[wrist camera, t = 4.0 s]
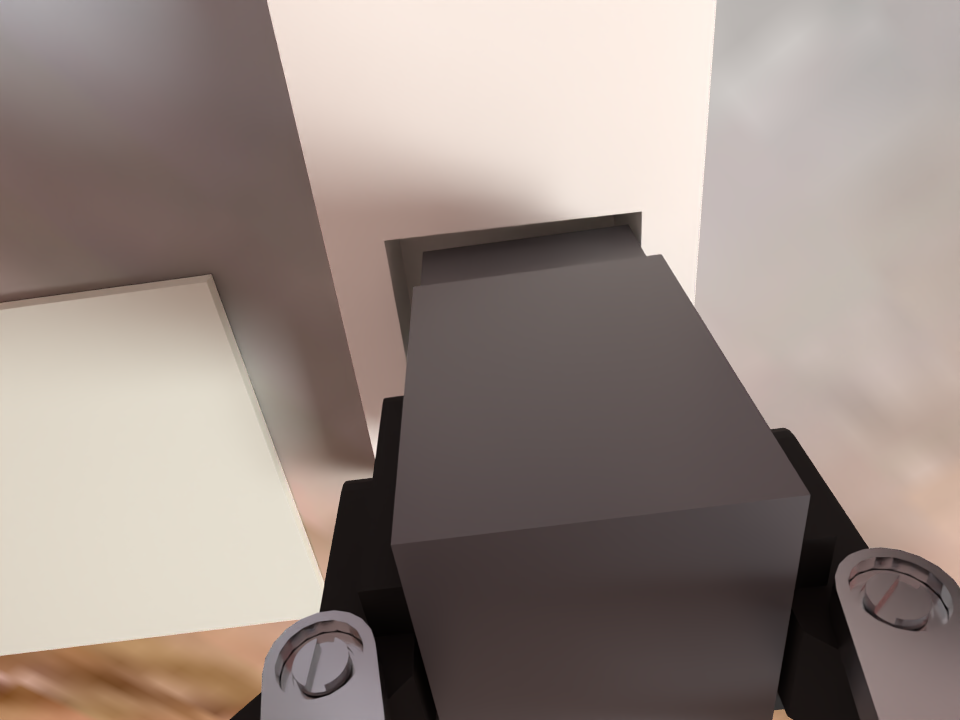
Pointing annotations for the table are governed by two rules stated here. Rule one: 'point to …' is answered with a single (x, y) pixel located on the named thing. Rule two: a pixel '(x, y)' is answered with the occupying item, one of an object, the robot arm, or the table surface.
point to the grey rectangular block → (587, 493)
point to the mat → (138, 474)
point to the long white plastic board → (489, 139)
